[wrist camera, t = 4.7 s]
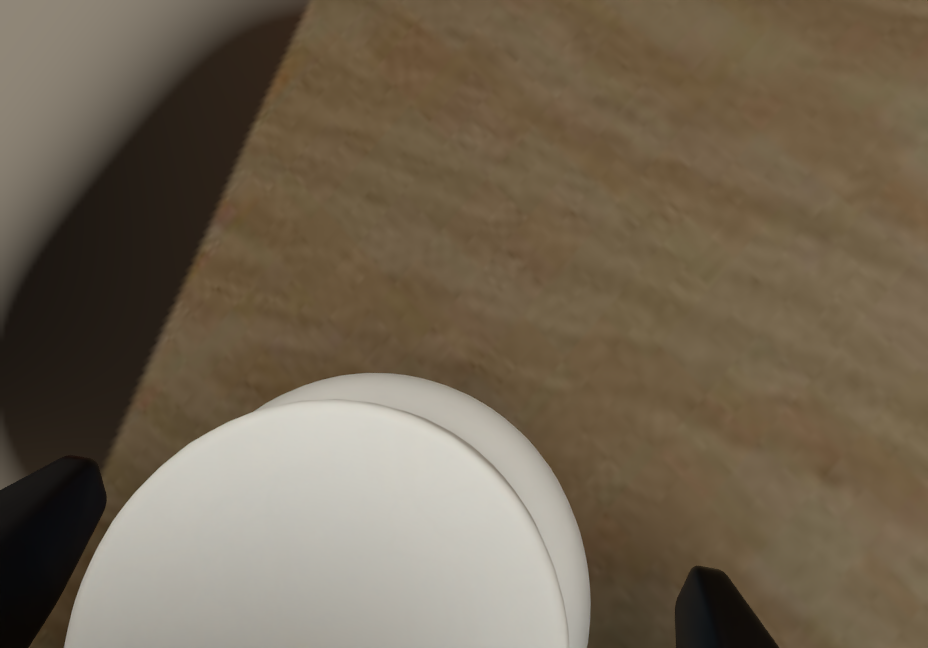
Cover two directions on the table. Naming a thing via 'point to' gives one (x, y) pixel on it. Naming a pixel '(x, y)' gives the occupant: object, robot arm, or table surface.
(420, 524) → the pill bottle
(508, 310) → the table surface
